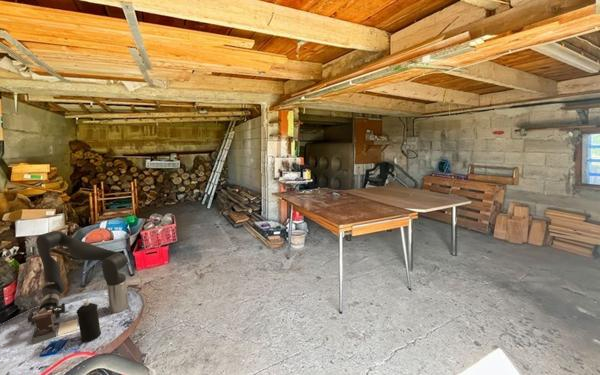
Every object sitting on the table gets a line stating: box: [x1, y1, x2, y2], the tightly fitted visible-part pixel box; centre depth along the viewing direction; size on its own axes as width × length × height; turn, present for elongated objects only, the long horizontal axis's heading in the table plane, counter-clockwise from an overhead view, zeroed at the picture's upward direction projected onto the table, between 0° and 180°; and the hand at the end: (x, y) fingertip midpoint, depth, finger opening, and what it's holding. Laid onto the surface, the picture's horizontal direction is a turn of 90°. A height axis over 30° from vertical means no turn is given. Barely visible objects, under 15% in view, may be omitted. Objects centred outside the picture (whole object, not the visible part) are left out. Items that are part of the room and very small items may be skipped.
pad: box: [57, 318, 79, 337], centre depth 141 cm, size 8×10×1 cm
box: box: [35, 309, 56, 336], centre depth 135 cm, size 6×4×12 cm
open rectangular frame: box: [30, 321, 60, 346], centre depth 136 cm, size 9×11×3 cm
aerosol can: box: [75, 299, 102, 343], centre depth 134 cm, size 8×8×20 cm
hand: (45, 320), depth 136 cm, fingers open, 8 cm apart
